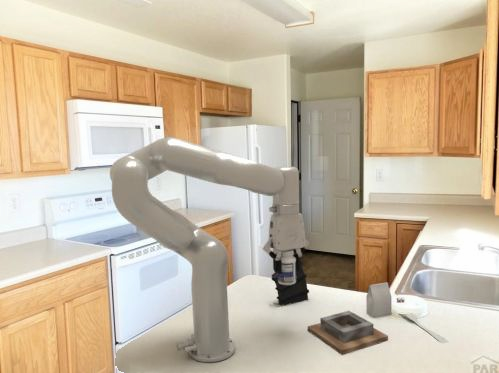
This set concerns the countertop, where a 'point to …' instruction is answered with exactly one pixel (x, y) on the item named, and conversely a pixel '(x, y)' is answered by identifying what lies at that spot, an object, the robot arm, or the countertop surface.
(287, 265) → the pill bottle
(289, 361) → the countertop surface
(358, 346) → the mount
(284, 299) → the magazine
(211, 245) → the robot arm
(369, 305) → the grey upright pouch
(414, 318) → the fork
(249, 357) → the countertop surface
